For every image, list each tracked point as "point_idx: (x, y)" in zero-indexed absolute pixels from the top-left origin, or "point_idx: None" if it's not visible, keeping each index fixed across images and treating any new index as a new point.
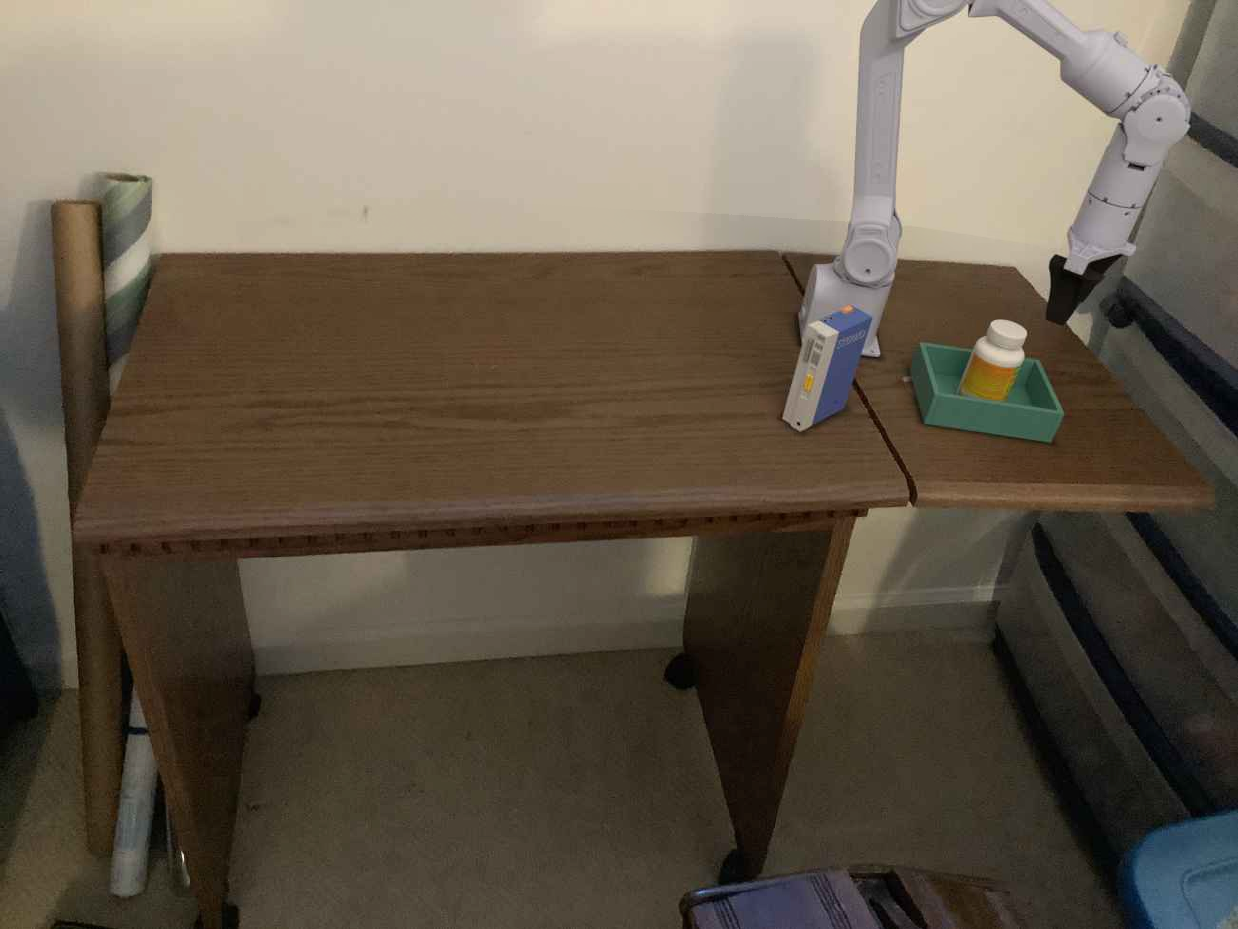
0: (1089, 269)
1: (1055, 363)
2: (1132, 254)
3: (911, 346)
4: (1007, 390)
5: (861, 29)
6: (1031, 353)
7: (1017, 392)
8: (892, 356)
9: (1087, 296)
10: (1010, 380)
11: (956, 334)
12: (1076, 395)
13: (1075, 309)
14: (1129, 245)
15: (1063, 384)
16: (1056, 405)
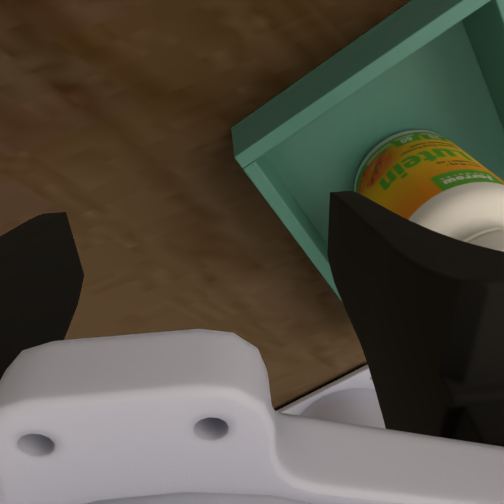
0: (456, 385)
1: (33, 122)
2: (188, 336)
3: (276, 348)
4: (462, 153)
5: None
6: (52, 186)
7: (291, 135)
8: (341, 351)
9: (52, 221)
10: (481, 167)
11: (147, 322)
12: (144, 8)
13: (371, 212)
14: (91, 469)
15: (121, 62)
16: (470, 13)
